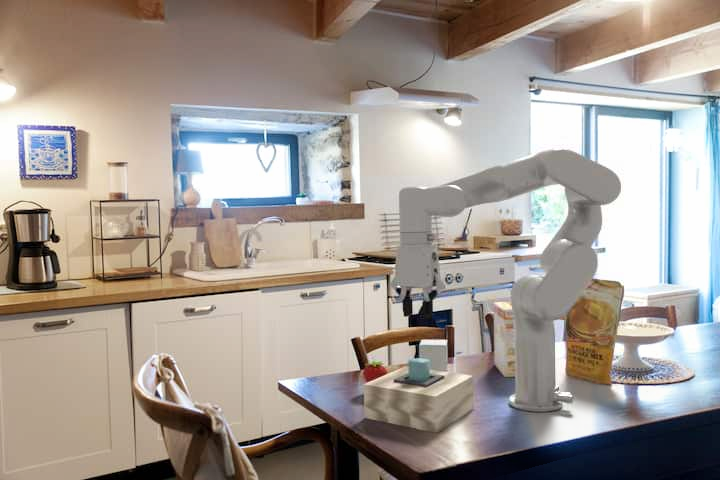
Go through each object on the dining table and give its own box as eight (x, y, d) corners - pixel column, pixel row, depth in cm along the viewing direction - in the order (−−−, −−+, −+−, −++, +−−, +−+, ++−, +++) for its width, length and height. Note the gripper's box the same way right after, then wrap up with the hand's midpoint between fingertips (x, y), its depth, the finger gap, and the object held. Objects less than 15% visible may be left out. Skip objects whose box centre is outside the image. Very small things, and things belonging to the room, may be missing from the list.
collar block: (473, 408, 150) (473, 373, 150) (436, 432, 135) (435, 393, 134) (406, 396, 161) (405, 363, 161) (364, 417, 146) (363, 381, 145)
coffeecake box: (529, 377, 176) (528, 308, 175) (504, 377, 177) (502, 309, 176) (517, 363, 191) (516, 301, 190) (493, 364, 192) (492, 301, 191)
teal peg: (433, 388, 148) (433, 359, 148) (423, 394, 144) (422, 364, 144) (415, 385, 151) (415, 357, 151) (405, 391, 147) (404, 361, 147)
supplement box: (447, 392, 164) (446, 345, 163) (419, 391, 165) (418, 344, 165) (448, 384, 171) (447, 339, 171) (421, 383, 173) (420, 338, 172)
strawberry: (373, 398, 160) (372, 360, 160) (359, 391, 167) (358, 355, 166) (393, 395, 163) (392, 357, 163) (378, 388, 170) (377, 351, 169)
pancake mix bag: (572, 368, 184) (571, 274, 182) (627, 384, 167) (626, 280, 165) (555, 372, 181) (554, 276, 179) (609, 388, 164) (608, 282, 162)
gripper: (455, 238, 144) (457, 316, 145) (393, 238, 154) (395, 311, 155) (440, 240, 138) (442, 322, 139) (377, 240, 148) (379, 316, 149)
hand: (417, 315), depth 147 cm, fingers open, 4 cm apart
